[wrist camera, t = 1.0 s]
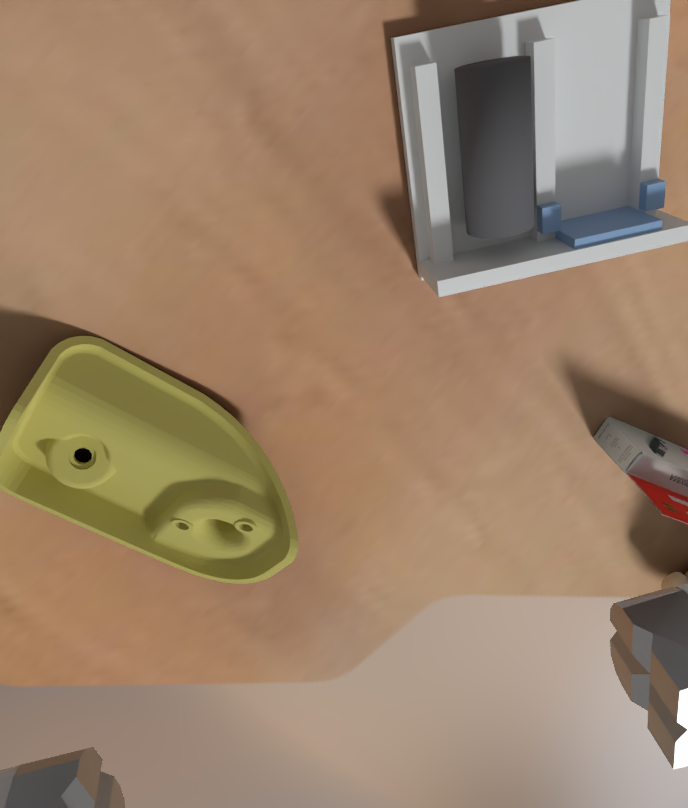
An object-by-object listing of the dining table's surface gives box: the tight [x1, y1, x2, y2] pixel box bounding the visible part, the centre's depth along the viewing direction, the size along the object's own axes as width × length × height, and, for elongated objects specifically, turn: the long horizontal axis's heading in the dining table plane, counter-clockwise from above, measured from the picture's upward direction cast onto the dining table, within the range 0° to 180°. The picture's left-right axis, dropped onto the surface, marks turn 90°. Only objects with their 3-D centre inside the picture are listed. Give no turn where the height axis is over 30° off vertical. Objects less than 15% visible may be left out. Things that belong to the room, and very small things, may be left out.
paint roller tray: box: [391, 0, 688, 297], centre depth 38 cm, size 14×16×5 cm
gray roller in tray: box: [454, 56, 534, 239], centre depth 38 cm, size 9×4×4 cm, turn 10°
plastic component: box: [0, 336, 298, 583], centre depth 45 cm, size 20×7×10 cm
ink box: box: [593, 417, 688, 524], centre depth 50 cm, size 2×11×10 cm, turn 63°
